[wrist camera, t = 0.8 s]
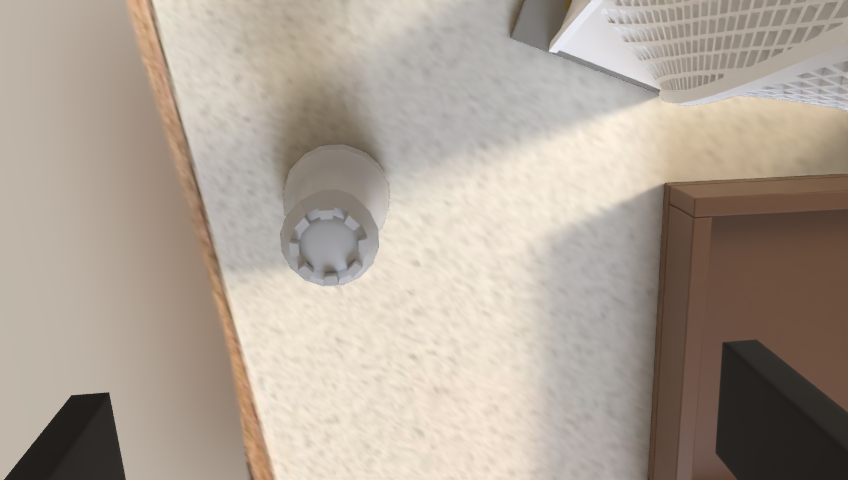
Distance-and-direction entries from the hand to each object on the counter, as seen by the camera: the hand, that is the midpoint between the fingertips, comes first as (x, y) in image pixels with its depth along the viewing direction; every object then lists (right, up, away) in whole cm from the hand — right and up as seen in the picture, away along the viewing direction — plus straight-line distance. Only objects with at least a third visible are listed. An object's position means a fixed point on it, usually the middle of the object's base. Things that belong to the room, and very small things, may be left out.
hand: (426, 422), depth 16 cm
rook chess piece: (-4, +6, +16) cm, 17 cm away
